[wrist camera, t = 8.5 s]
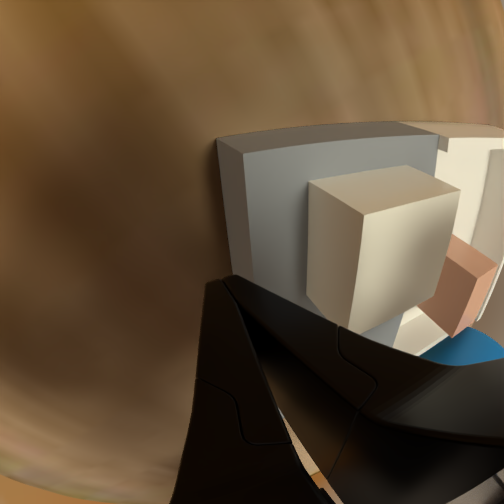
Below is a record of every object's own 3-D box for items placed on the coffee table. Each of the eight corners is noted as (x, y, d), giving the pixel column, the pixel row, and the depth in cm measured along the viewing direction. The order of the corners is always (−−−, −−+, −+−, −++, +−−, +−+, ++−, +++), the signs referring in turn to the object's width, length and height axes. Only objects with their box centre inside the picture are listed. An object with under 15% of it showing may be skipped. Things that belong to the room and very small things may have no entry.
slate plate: (362, 343, 19) (384, 369, 17) (249, 391, 17) (266, 424, 15) (395, 121, 12) (439, 134, 10) (216, 138, 10) (242, 153, 8)
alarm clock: (431, 366, 30) (510, 453, 18) (390, 400, 29) (466, 495, 17) (446, 294, 22) (569, 410, 10) (391, 339, 21) (516, 479, 9)
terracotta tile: (406, 297, 18) (430, 285, 19) (451, 338, 15) (473, 321, 15) (421, 239, 16) (446, 230, 16) (477, 278, 12) (498, 264, 13)
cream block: (392, 262, 12) (433, 295, 10) (306, 294, 11) (345, 340, 9) (406, 165, 10) (460, 190, 8) (308, 180, 9) (363, 215, 7)
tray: (451, 294, 22) (480, 318, 19) (362, 343, 19) (393, 379, 17) (490, 125, 15) (534, 141, 12) (395, 121, 12) (459, 141, 9)
